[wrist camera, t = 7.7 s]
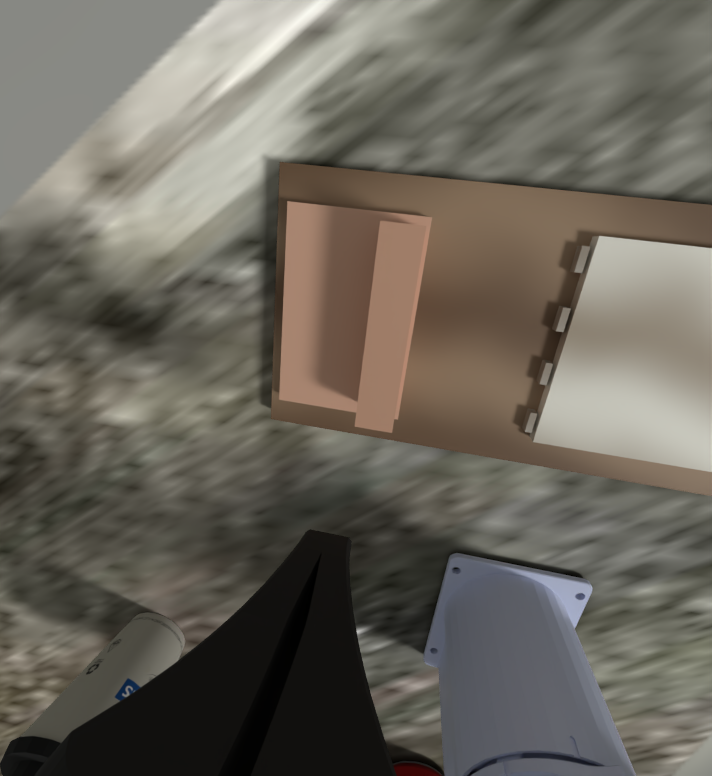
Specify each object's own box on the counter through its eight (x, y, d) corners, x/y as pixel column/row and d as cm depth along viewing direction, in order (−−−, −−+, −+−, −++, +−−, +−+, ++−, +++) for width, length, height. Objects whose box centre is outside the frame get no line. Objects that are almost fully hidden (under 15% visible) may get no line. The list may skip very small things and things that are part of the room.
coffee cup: (122, 653, 31) (-6, 826, 21) (112, 592, 28) (-37, 757, 19) (201, 673, 30) (104, 861, 21) (197, 612, 28) (86, 794, 18)
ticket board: (745, 492, 18) (774, 513, 17) (277, 411, 21) (266, 423, 19) (900, 228, 14) (957, 226, 12) (287, 167, 16) (274, 158, 15)
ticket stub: (398, 414, 19) (395, 444, 16) (283, 395, 19) (259, 420, 16) (431, 218, 15) (435, 210, 12) (291, 203, 16) (264, 191, 13)
